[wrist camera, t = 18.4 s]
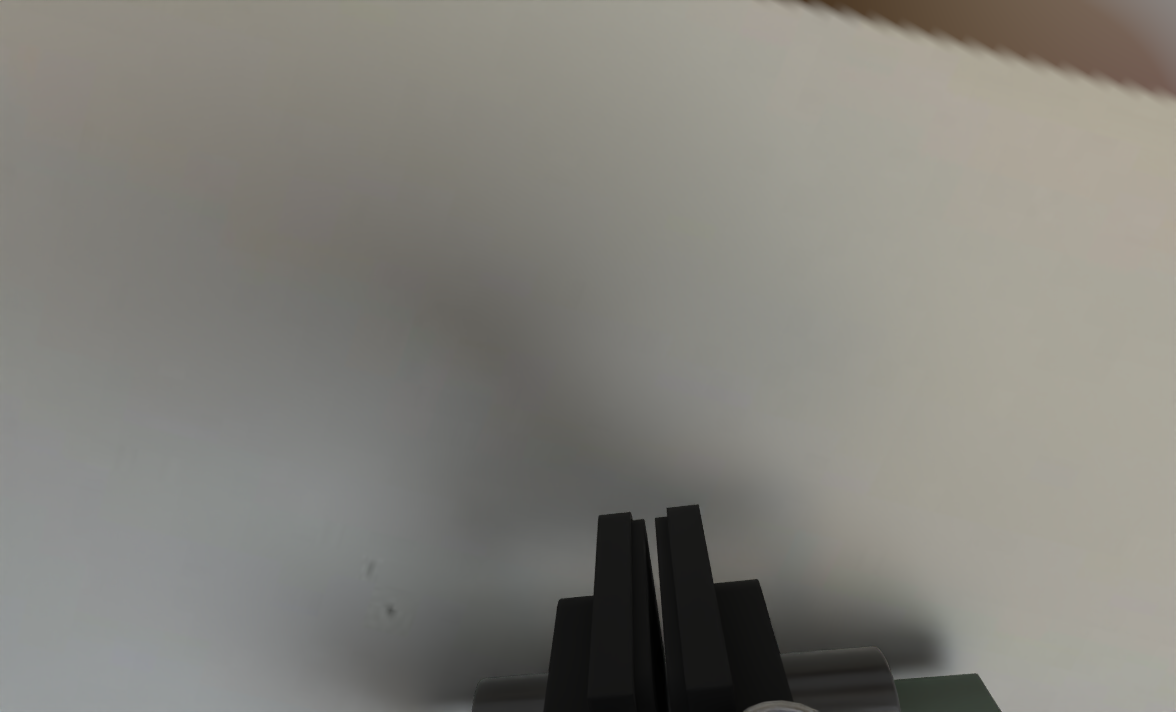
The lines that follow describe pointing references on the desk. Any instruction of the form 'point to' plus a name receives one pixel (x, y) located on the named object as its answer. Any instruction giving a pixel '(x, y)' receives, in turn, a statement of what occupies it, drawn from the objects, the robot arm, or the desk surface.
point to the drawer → (800, 687)
